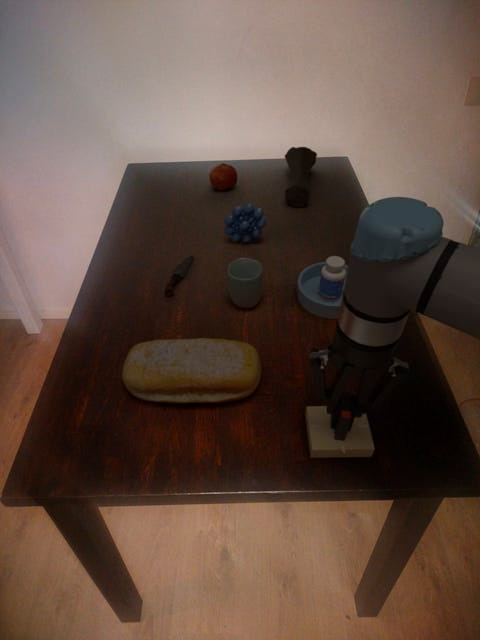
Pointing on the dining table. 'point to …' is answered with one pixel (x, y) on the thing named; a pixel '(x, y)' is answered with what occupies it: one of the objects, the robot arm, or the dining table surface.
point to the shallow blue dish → (316, 293)
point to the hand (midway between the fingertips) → (340, 422)
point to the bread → (192, 370)
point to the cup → (245, 282)
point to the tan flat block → (323, 436)
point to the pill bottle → (332, 279)
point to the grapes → (245, 223)
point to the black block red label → (343, 417)
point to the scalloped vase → (299, 175)
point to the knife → (178, 275)
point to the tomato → (223, 176)
